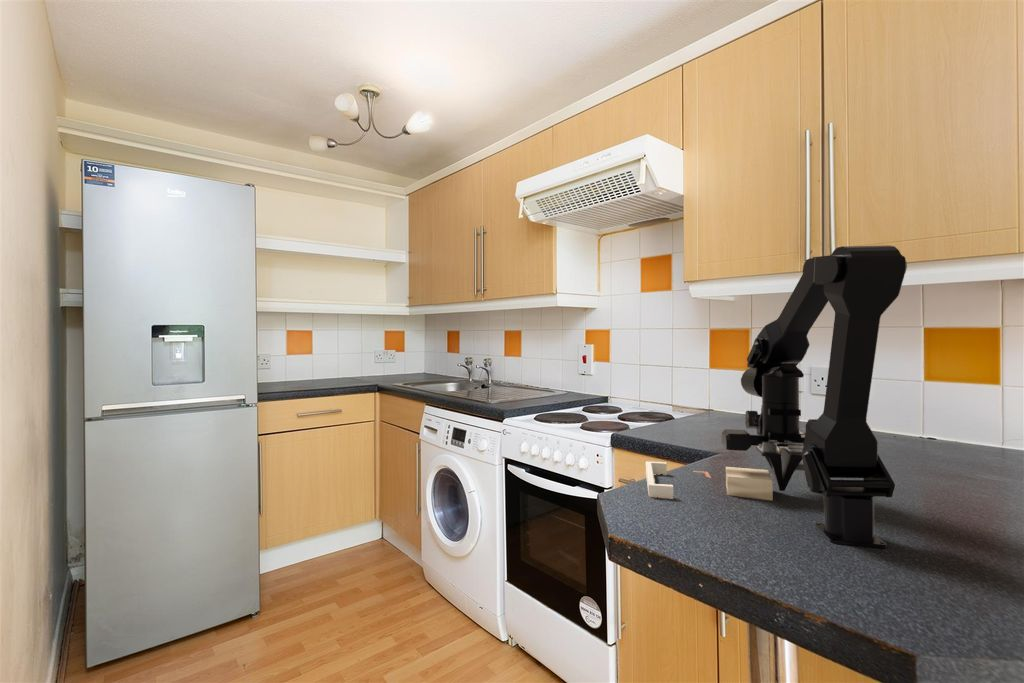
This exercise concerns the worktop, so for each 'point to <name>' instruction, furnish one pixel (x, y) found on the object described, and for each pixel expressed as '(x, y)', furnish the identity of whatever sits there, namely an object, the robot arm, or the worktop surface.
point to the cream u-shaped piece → (653, 488)
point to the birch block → (749, 483)
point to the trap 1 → (705, 473)
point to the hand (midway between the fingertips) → (781, 490)
